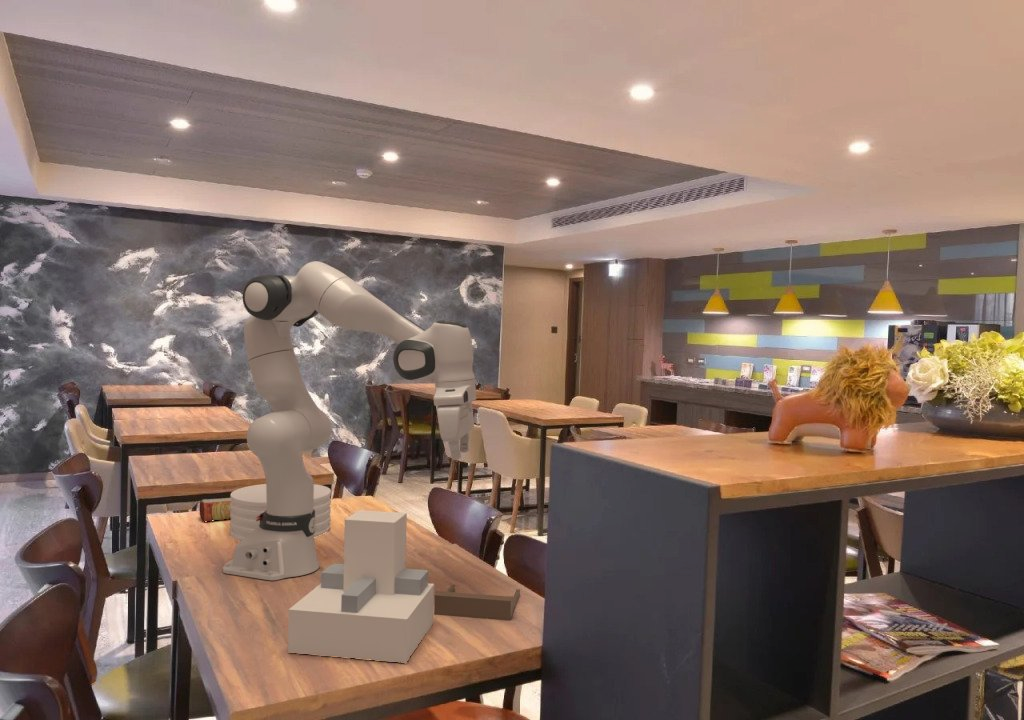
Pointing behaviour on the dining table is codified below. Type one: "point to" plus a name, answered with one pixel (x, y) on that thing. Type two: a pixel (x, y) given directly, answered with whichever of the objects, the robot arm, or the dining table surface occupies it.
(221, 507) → the snack package
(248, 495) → the plate stack
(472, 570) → the dining table surface
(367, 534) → the pillar on square base
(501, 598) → the glasses frame
